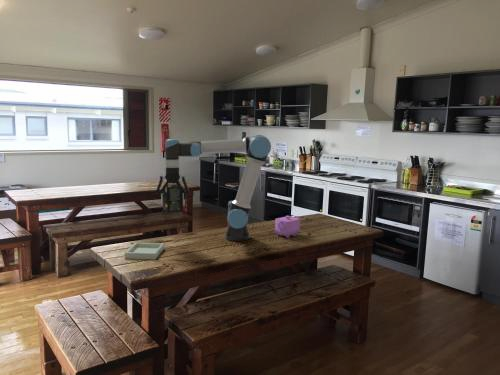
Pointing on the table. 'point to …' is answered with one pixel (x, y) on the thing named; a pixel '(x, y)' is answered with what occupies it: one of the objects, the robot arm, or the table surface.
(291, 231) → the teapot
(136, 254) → the tray
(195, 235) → the table surface
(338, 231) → the table surface
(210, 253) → the table surface
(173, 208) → the tampon box
